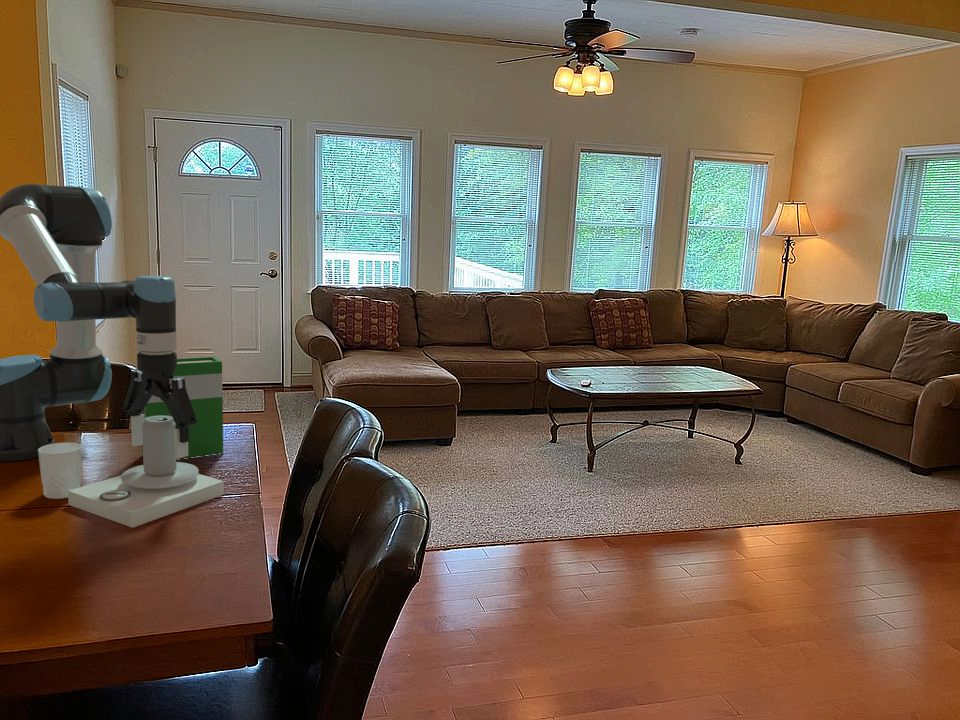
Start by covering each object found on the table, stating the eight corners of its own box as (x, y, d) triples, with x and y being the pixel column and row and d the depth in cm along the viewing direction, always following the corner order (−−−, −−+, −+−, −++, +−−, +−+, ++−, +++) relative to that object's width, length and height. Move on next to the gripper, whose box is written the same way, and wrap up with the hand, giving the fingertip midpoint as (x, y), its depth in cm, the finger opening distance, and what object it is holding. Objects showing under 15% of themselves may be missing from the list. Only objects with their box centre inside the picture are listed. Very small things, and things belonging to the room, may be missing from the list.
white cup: (44, 503, 147) (41, 455, 146) (37, 491, 153) (34, 445, 151) (87, 495, 152) (85, 449, 151) (79, 484, 158) (77, 440, 156)
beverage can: (164, 479, 150) (162, 423, 147) (136, 475, 151) (135, 420, 149) (183, 470, 156) (181, 416, 154) (156, 466, 157) (155, 413, 155)
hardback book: (147, 464, 173) (144, 365, 169) (142, 455, 180) (139, 360, 175) (223, 454, 183) (222, 361, 179) (215, 446, 189) (214, 356, 185)
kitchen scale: (68, 504, 147) (67, 481, 146) (162, 475, 166) (161, 454, 165) (132, 527, 137) (131, 502, 137) (224, 494, 156) (223, 472, 156)
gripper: (101, 346, 152) (105, 444, 155) (182, 361, 140) (185, 466, 143) (134, 342, 158) (137, 436, 162) (214, 356, 146) (215, 457, 150)
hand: (159, 451), depth 153 cm, fingers open, 13 cm apart
